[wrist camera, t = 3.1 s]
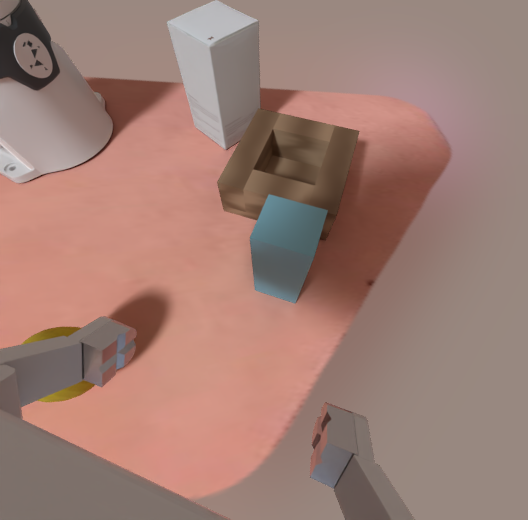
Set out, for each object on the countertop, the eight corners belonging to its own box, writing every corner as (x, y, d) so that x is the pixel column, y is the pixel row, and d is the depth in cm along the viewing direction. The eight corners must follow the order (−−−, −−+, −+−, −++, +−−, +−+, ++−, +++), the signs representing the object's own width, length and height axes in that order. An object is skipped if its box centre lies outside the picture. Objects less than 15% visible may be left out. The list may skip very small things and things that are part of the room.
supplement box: (262, 127, 38) (261, 19, 27) (225, 151, 36) (207, 46, 25) (230, 104, 41) (217, -3, 29) (193, 126, 38) (163, 19, 27)
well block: (223, 210, 32) (217, 182, 27) (258, 141, 37) (258, 108, 32) (325, 240, 30) (336, 215, 25) (347, 163, 35) (359, 131, 31)
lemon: (123, 328, 25) (67, 307, 18) (126, 387, 23) (64, 390, 16) (65, 344, 25) (-17, 330, 18) (62, 407, 22) (-33, 420, 15)
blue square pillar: (254, 290, 27) (249, 237, 17) (267, 258, 29) (268, 194, 19) (295, 303, 27) (314, 257, 17) (305, 270, 28) (327, 210, 18)
